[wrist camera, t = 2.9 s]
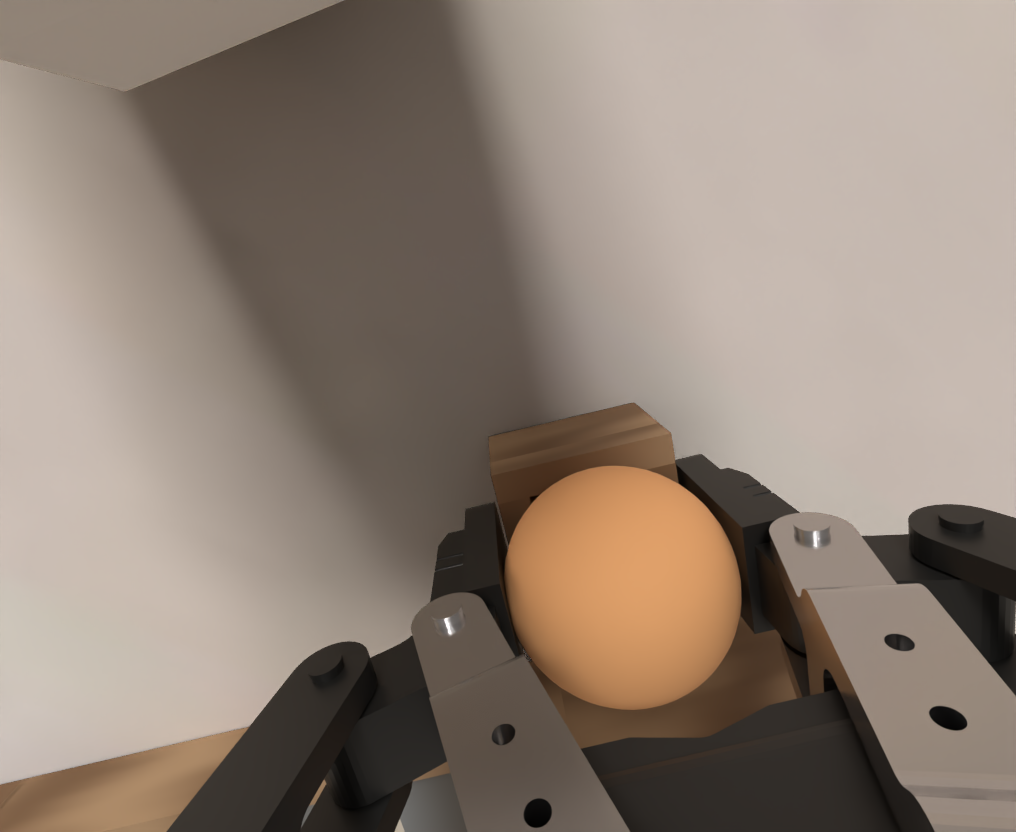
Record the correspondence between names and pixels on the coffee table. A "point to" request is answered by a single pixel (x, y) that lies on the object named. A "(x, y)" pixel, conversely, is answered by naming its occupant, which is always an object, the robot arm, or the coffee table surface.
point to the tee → (574, 454)
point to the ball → (622, 587)
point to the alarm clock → (134, 34)
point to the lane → (433, 800)
